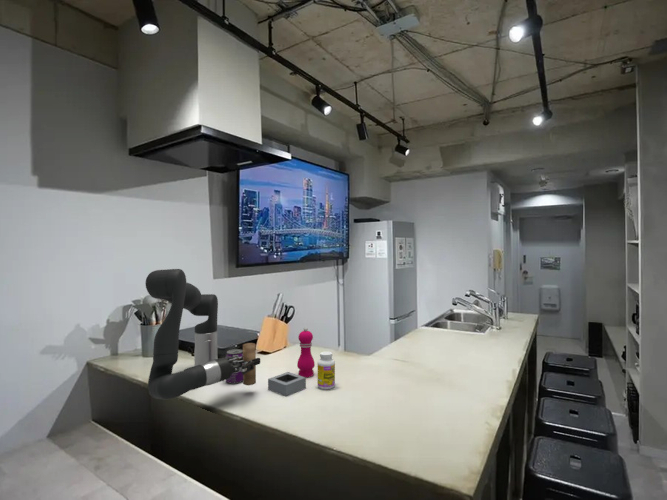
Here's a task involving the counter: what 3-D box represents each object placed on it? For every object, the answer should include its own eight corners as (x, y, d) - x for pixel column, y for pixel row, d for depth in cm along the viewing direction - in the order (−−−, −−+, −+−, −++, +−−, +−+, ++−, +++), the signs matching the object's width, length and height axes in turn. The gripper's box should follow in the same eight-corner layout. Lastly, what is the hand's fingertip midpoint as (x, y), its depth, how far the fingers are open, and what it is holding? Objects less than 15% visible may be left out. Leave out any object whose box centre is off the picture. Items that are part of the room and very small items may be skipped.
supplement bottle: (322, 391, 134) (321, 356, 134) (314, 385, 140) (314, 352, 140) (338, 388, 137) (337, 354, 137) (330, 382, 143) (329, 349, 143)
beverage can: (247, 379, 147) (247, 350, 147) (236, 385, 140) (235, 354, 140) (234, 377, 150) (233, 348, 150) (222, 382, 143) (221, 352, 143)
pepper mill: (312, 378, 147) (311, 329, 147) (295, 377, 148) (294, 328, 148) (316, 372, 154) (316, 325, 154) (300, 371, 156) (299, 325, 155)
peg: (240, 383, 132) (240, 344, 132) (250, 379, 136) (250, 342, 135) (248, 386, 129) (247, 347, 129) (258, 382, 133) (258, 344, 133)
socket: (268, 389, 136) (268, 378, 136) (288, 381, 144) (288, 371, 144) (285, 396, 130) (285, 385, 130) (305, 388, 137) (305, 377, 137)
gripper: (225, 365, 117) (267, 352, 130) (202, 356, 126) (243, 345, 139) (225, 388, 117) (267, 373, 130) (202, 377, 126) (244, 364, 139)
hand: (255, 359), depth 134 cm, fingers closed on peg, 4 cm apart
